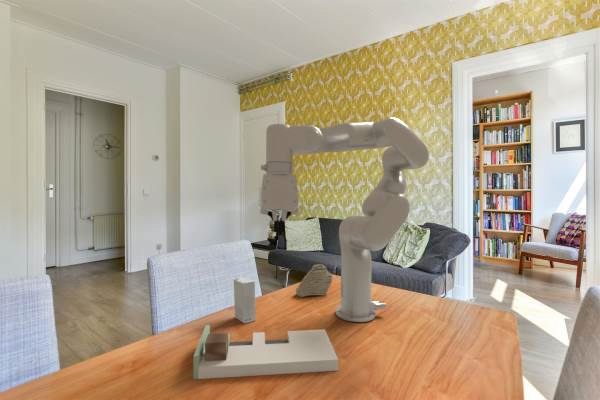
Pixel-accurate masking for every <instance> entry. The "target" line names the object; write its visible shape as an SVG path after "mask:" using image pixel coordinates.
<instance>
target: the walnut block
mask: <svg viewBox="0 0 600 400" xmlns="http://www.w3.org/2000/svg"><path fill="white" fill-rule="evenodd" d="M228 334H229V332H221V333H220V332H219V333H218V332H217V333H216V332H215V333H210V334H208V336H207V339H206V342H205V361H221V360H226V358H227V354H228Z"/></svg>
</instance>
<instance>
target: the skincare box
mask: <svg viewBox="0 0 600 400" xmlns="http://www.w3.org/2000/svg"><path fill="white" fill-rule="evenodd" d="M255 284H256V283H255V280H251V279H249V278H247V277H244V276H243V277H239V278H235V279H233V299H234V318H235V319H237V320H238V321H240V322H241V323H242V324H248V323H251V322H254V321H256V317H257V316H256V287H255Z"/></svg>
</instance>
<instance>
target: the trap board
mask: <svg viewBox="0 0 600 400" xmlns="http://www.w3.org/2000/svg"><path fill="white" fill-rule="evenodd" d="M327 333H328V332H327V330H326V329H324V328H323V329H307V330H304V329H303V330H288V331H287V338H286V339H270V340H268V339H267V340H266V333H265V331H262V332H261V331H260V332H259V331H258V332H253V333H252V340H245V341H230V340H231V334H230V333H228V354H227V358H226V360H221V361H205V342H206V339H207V336H208V334H211V326H210V324H205V326H204V329H203V331H202V333H201V336H200V339H199V341H198V344H197V346H196V349H195V351H194V354H193V356H192V358H193V362H192V363H193V367H192V368H193V371H192V372H193V373H192V375H193V377H192V378H193V380H203V379H204V380H205V379H219V378H220V379H221V378H222V379H223V378H224V379H225V378H237V377H238V378H239V377H253V376H255V377H256V376H269V375H287V374H303V373H318V372H336V371H339V358H338V356H337V354H336V351H335V349H334V347H333V344H332V342H331V340H330V338H329V336H328V334H327Z"/></svg>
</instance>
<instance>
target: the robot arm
mask: <svg viewBox="0 0 600 400" xmlns="http://www.w3.org/2000/svg"><path fill="white" fill-rule="evenodd" d="M265 133H266V135H265V137H266V138H265V142H266V143H265V145H266V146H265V147H266V148H265V149H266V150H265V162H266V163H264V164H261V165H260V170H261V171H265V173H264V174H263V175H262V180H261V181H262V183H261V194H260V195H261V197H260V204H261V205H260V207H261V208H260V211H259V213H260V214H262V215H265V216H269V217H270V218H271V219H272V220H273V233H275V235H276V236H283V233H285V232H286V231H285V229H286V224H285V223H286V222H285V221H286V220H287V219H288V218H290V216H293V215H296V214H299V208H298V205H299V193H298V191H299V190H298V181H297V180H298V179H297V174H294V156H295V155H296V156H298V155H299V156H300V155H310V154H311V155H313V154H321V153H341V152H352V151H362V150H374V149H382V148H386V149H385V150H384V151H383V154H382V155H381V156H382V157H381V163H382V170H383V173H382V174H383V175H382V177H381V180H380V181H379V182H378V183H377V185H376V186H375V187H374V188H373V189H372V190H371V191H370V193H369V195H368V196H366V197H365V199H364V200H363V202H362V205H361V212H362V214H363V215H364V216H362V215H348V216H346V217H345V218H343V220H342V221H341V222H340V224H339V227H338V238H339V243H340V255H341V262H340V264H341V265H340V266H341V267H340V305H339V306H337V307H336V308H335V315H336V316H337V317H338V318H339V319H341V320H344V321H348V322H352V323H366V322H371V321H372V320H374V319H376V316H377V314H376V313H377V312H376V311H377V310H386V309H387V306H386V305H387V304H386V302H379V301H377V300H374V301H373V300H372V268H373V265H372V264H373V263H372V261H373V260H372V254H371V251H372V252H376V251H380V250H382V249H383V248H385V247H386V246H387V245H388V244H389V243H390V241H391V240H392V239H393V237H394V236H395V235H396V234H397V233H398V231H399V230H400V229H401V228H402V226H403V225H404V223H405V222H406V221H407V219H408V217H409V214H410V202H409V199H408V198H407V196H405V195H404V193H405V191H406V189H407V180H406V175H405V170H416V169H420V168H422V167H425V165H427V162H428V161H429V157H430V156H429V155H430V153H429V149H428V147H427V145H426V144H425V142H424V141H423V140H422V139H421V138H420V137H419V136H418V135H417V134H416V133H415V132H413V130H412V129H411V128H410V127H409V126H408V125H407V124H406V123H405V122H404V121H402V120H401V119H399V118H397V117H392V116H391V117H388V118H384V119H381V120H377V121H365V122H363V121H362V122H343V123H340V124H339V123H338V124H333V125H331V126H327V127H324V128H318V127H316V126H315V125H311V124H301V125H289V124H285V123H273V124H269V125H268V126H267V127H266V131H265ZM277 211H281V217H280V218H279V217H278V213H277Z"/></svg>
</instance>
